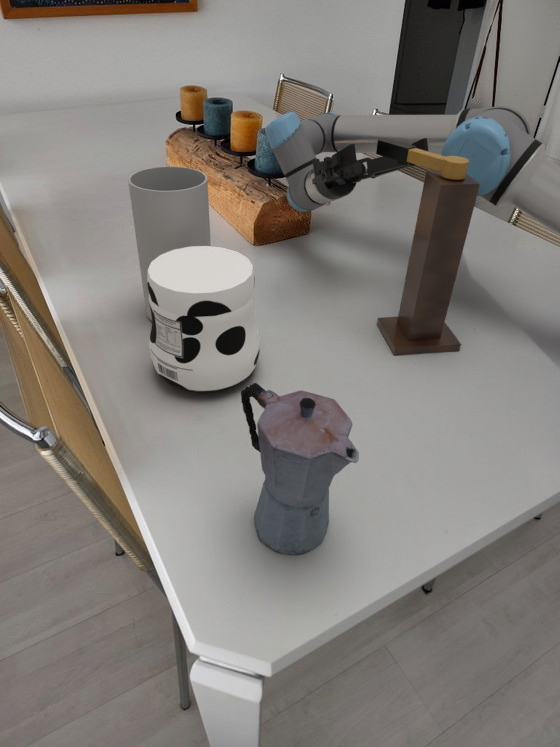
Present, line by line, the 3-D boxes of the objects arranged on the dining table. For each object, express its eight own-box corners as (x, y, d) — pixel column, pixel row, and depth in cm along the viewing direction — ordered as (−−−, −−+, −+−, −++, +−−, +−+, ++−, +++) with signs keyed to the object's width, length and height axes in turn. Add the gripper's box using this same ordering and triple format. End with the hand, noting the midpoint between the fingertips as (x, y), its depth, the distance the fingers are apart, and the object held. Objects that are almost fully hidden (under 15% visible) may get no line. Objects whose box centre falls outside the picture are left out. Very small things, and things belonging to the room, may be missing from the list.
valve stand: (437, 320, 103) (475, 166, 86) (459, 351, 95) (505, 187, 78) (376, 324, 101) (402, 167, 84) (393, 355, 93) (426, 189, 76)
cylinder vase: (137, 326, 98) (115, 187, 83) (158, 293, 108) (143, 163, 93) (204, 333, 97) (195, 194, 82) (220, 299, 107) (215, 169, 91)
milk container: (258, 338, 96) (260, 243, 85) (260, 402, 82) (262, 298, 72) (160, 338, 95) (148, 241, 84) (145, 402, 81) (129, 297, 71)
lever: (387, 151, 90) (389, 136, 88) (469, 176, 81) (474, 160, 79) (372, 155, 88) (375, 139, 86) (456, 181, 79) (460, 164, 77)
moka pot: (318, 588, 58) (336, 459, 46) (213, 515, 66) (204, 386, 53) (363, 530, 65) (389, 402, 52) (262, 469, 72) (264, 344, 60)
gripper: (388, 193, 111) (456, 167, 92) (276, 207, 103) (324, 181, 83) (383, 155, 110) (451, 120, 90) (269, 166, 102) (317, 130, 82)
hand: (391, 149), depth 87 cm, fingers open, 13 cm apart
